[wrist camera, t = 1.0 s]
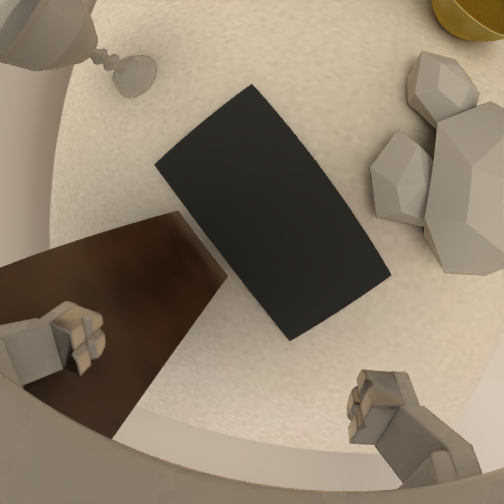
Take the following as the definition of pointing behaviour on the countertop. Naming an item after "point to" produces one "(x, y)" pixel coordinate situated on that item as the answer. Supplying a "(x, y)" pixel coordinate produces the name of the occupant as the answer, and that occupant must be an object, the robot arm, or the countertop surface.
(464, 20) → the mustard yellow bowl
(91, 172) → the countertop surface
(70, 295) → the walnut stand
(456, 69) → the rock
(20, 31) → the chalice
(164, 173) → the charcoal mat
